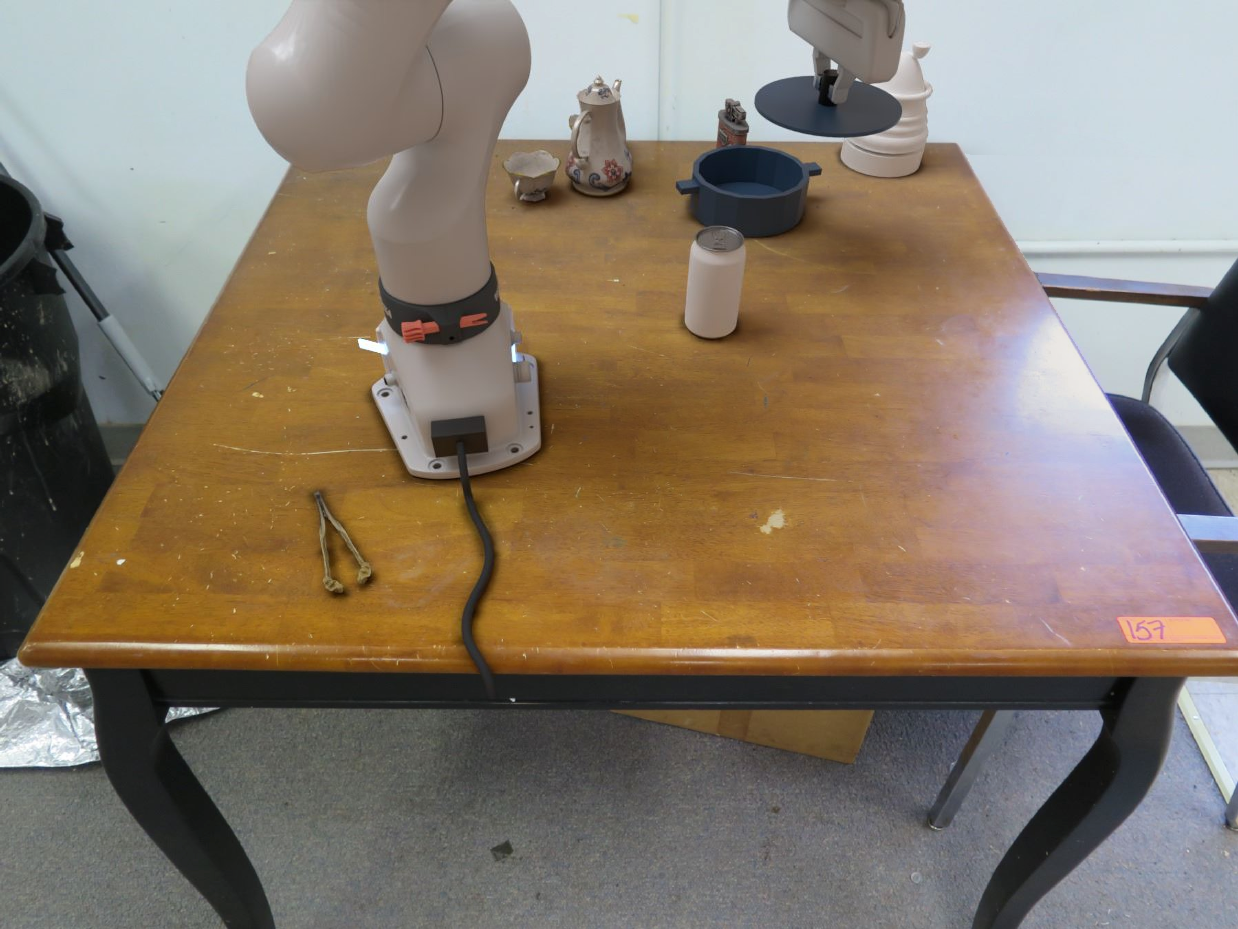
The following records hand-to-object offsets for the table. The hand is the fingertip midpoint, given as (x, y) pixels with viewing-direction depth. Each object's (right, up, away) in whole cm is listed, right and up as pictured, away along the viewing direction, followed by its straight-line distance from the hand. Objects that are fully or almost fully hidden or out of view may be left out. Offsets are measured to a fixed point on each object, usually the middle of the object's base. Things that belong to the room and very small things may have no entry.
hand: (828, 95), depth 95 cm
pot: (-6, -6, +23) cm, 25 cm away
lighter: (-8, +4, +33) cm, 34 cm away
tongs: (-53, -52, -21) cm, 77 cm away
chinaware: (-31, 0, +30) cm, 43 cm away
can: (-14, -28, +3) cm, 31 cm away
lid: (0, -1, +1) cm, 1 cm away
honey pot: (+18, +6, +35) cm, 40 cm away
